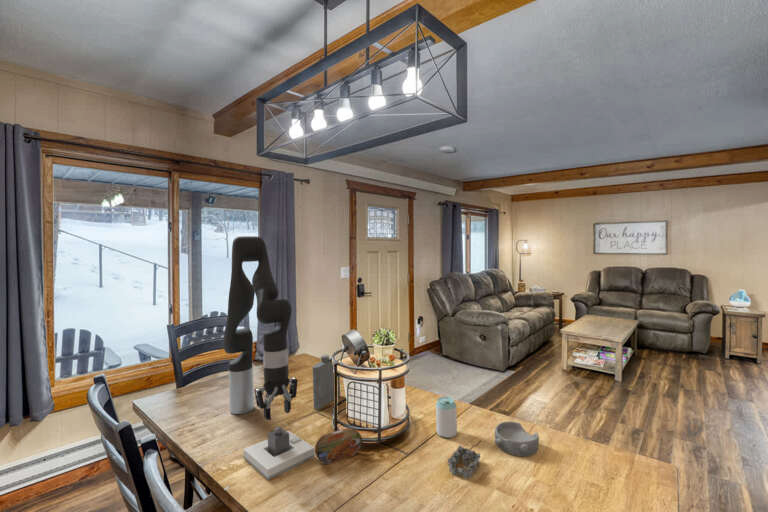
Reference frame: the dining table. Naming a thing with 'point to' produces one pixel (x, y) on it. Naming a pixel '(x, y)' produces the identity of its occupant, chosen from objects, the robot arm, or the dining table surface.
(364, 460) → the dining table surface
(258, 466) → the socket
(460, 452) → the grey jagged ring
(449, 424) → the can
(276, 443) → the plug
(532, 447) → the dish
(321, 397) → the hip flask
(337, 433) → the tin
